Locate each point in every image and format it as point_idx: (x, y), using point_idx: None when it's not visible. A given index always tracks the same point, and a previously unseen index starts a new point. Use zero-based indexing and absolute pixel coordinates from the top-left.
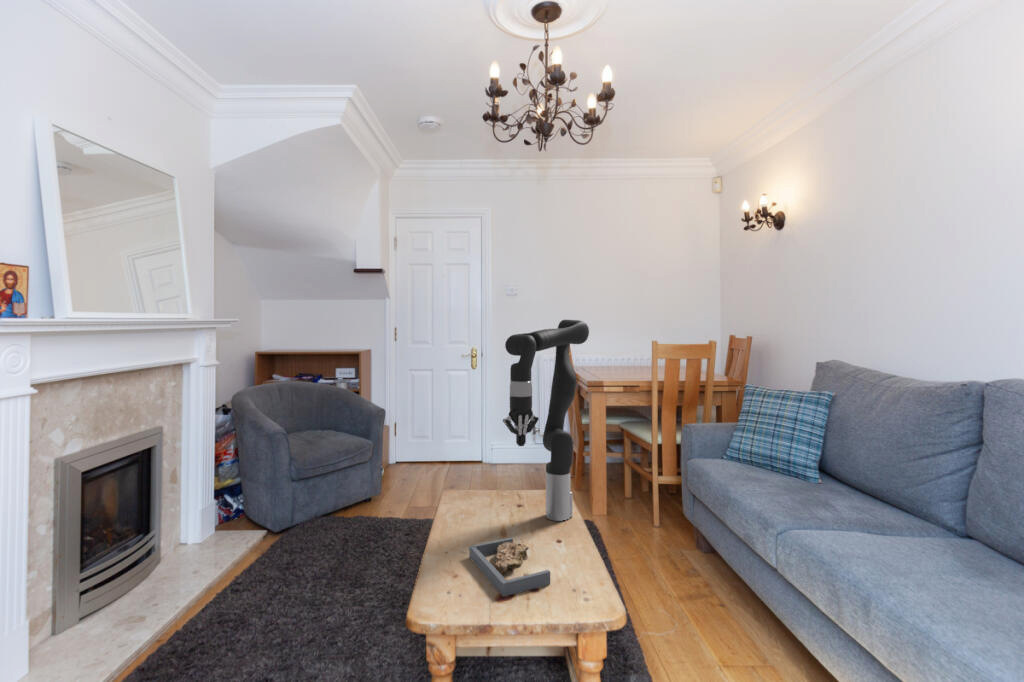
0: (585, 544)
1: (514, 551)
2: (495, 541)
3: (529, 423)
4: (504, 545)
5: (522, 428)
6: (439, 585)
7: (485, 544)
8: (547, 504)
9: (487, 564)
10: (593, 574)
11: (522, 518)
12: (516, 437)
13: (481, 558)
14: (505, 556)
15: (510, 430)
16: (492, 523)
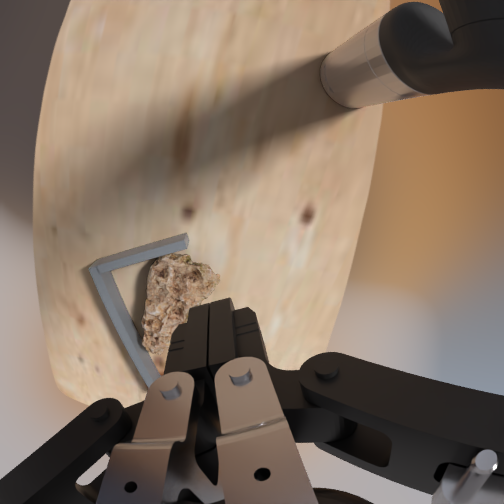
0: (355, 243)
1: (182, 307)
2: (143, 255)
3: (403, 451)
4: (162, 284)
5: (258, 422)
6: (64, 340)
7: (121, 266)
8: (334, 73)
9: (127, 346)
10: (314, 350)
11: (254, 60)
12: (167, 369)
13: (115, 324)
14: (160, 332)
15: (79, 435)
16: (164, 78)
